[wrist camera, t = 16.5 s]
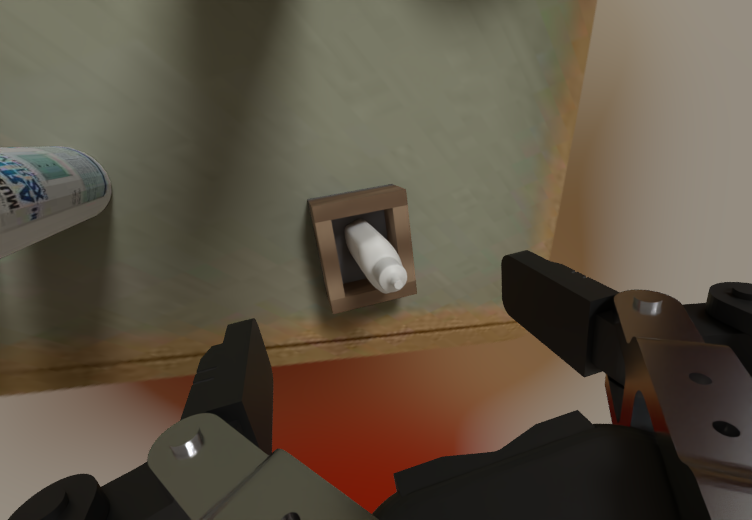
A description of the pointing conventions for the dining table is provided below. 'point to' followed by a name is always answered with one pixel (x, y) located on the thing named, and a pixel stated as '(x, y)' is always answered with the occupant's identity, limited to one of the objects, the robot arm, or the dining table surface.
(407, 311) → the dining table surface
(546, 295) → the robot arm
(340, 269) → the walnut socket
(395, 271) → the eye dropper bottle
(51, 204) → the spray can
